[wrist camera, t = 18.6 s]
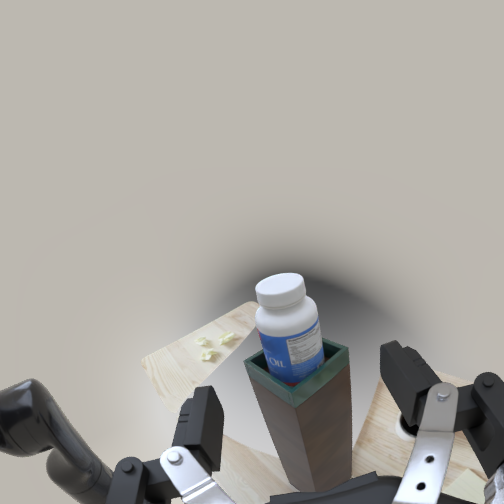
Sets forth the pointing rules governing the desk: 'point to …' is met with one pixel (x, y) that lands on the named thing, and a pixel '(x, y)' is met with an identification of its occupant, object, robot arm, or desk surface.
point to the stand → (312, 433)
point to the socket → (306, 386)
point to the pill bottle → (288, 328)
